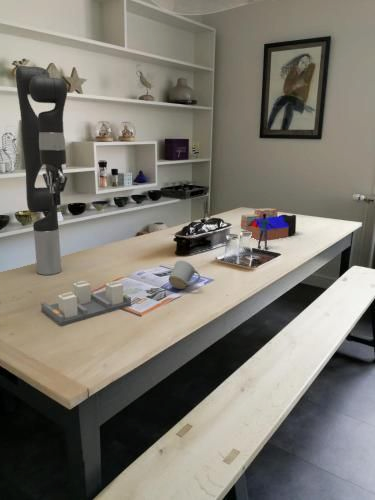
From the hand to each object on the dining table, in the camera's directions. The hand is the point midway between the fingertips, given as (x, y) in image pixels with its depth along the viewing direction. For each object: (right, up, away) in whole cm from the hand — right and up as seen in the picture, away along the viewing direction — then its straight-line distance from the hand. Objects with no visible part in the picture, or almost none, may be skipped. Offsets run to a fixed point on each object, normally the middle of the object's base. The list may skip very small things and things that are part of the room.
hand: (56, 205), depth 130 cm
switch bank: (+9, -33, +2) cm, 34 cm away
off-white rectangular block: (+7, -31, +4) cm, 32 cm away
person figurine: (+78, -14, +75) cm, 109 cm away
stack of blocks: (+84, -2, +118) cm, 145 cm away
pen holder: (+97, -5, +103) cm, 142 cm away
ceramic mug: (+40, -28, +21) cm, 53 cm away
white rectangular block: (+17, -31, +4) cm, 36 cm away
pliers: (+52, -4, +110) cm, 121 cm away
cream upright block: (+5, -33, -6) cm, 34 cm away
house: (+85, -8, +98) cm, 130 cm away
